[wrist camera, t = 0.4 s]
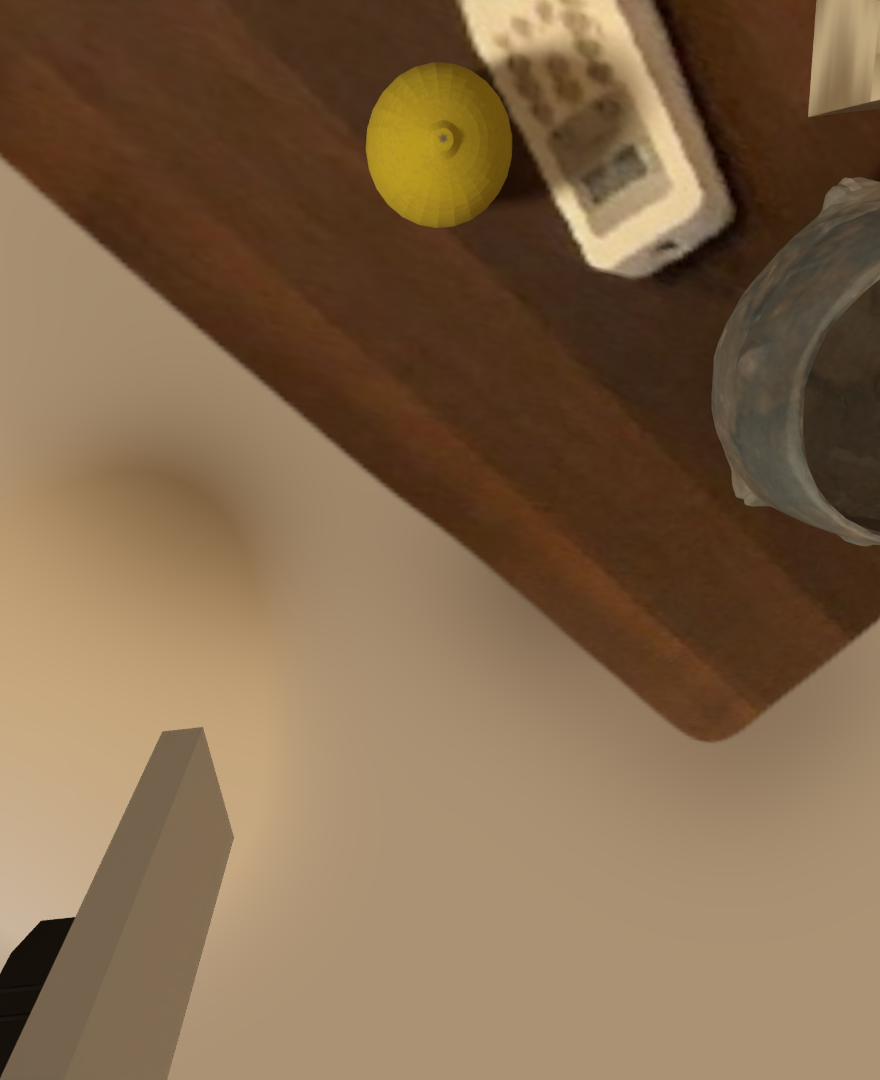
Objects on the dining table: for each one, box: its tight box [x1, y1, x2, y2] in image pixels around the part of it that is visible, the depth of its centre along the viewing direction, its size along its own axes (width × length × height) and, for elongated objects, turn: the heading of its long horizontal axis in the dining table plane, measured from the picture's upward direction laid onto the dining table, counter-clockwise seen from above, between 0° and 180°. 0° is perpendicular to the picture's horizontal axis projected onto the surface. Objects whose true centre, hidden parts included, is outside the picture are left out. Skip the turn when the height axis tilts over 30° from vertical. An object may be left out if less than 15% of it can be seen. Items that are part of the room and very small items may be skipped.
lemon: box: [366, 62, 512, 228], centre depth 29 cm, size 6×6×8 cm
